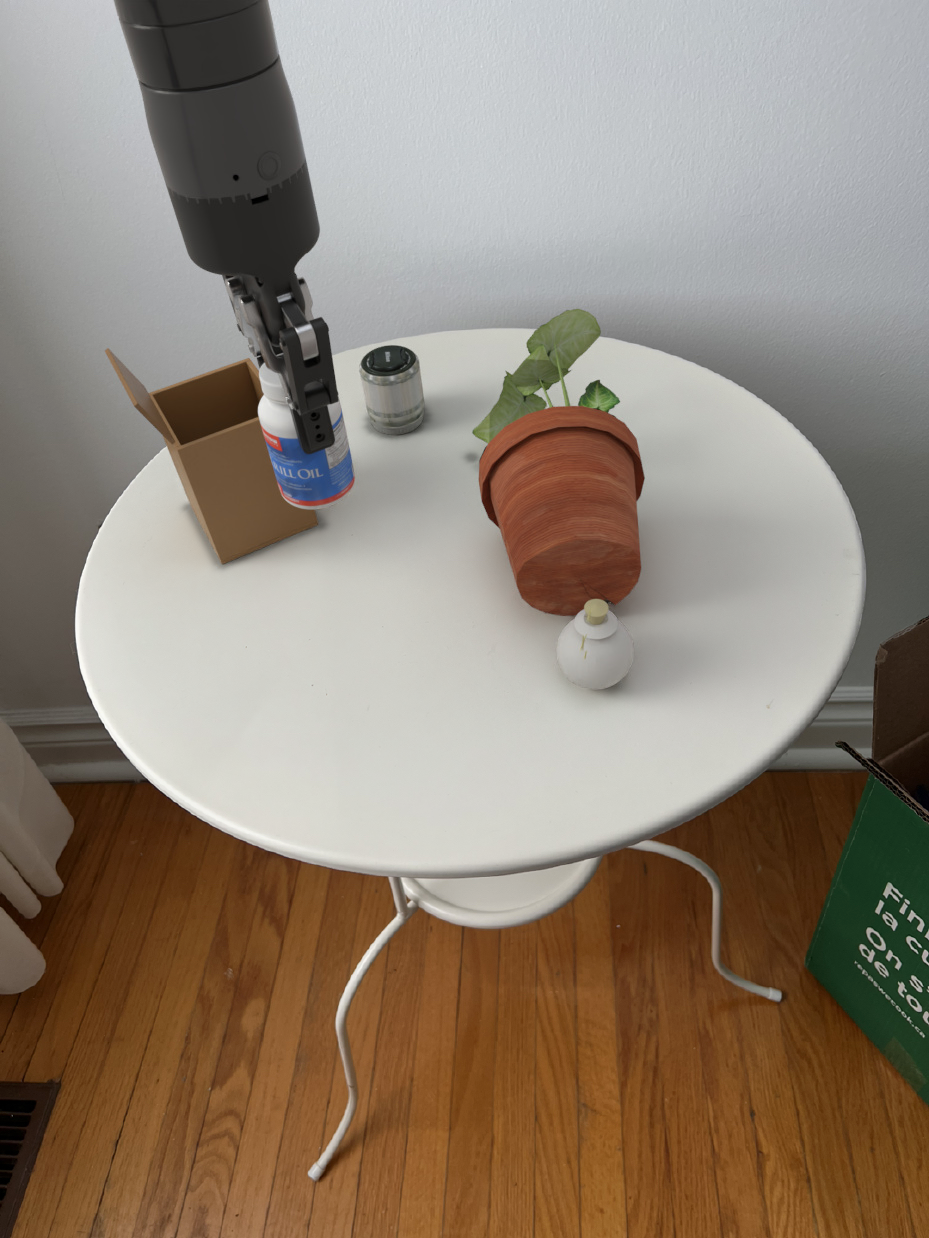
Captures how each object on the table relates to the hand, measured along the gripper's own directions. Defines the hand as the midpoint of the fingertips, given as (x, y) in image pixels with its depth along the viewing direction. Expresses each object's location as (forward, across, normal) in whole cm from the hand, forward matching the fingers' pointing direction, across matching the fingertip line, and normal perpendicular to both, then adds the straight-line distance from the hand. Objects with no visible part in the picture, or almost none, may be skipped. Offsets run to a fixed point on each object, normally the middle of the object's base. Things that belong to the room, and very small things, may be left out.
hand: (302, 423), depth 61 cm
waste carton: (+23, -22, -2) cm, 32 cm away
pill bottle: (+6, 0, 0) cm, 6 cm away
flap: (+7, -22, -8) cm, 24 cm away
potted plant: (+24, -8, +24) cm, 34 cm away
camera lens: (+24, -28, +17) cm, 40 cm away
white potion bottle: (+24, +13, +15) cm, 31 cm away
